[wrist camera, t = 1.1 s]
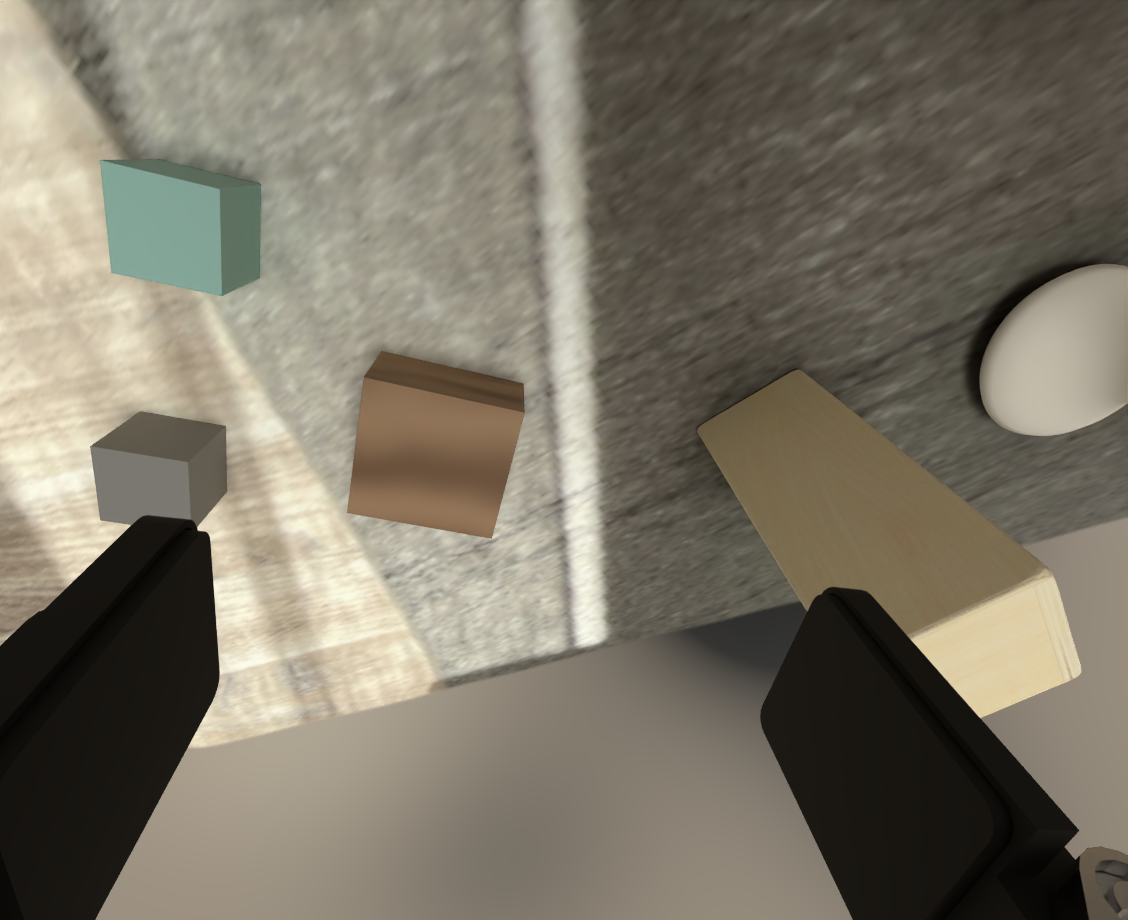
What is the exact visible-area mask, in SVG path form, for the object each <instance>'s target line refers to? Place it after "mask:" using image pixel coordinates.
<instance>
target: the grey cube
mask: <svg viewBox="0 0 1128 920" xmlns="http://www.w3.org/2000/svg"><path fill="white" fill-rule="evenodd" d="M90 448H91V455H92V462H93V470H94V477H95V484H96V491H97V499H98V506H99V513H100V520H102V521H109V522H116V523H123V524H130V525H132V524H133V523H134V522H135V521H136V520H138V519H139V518H140V517H142V516H145V515H152V516H162V517H171V518H181V519H191V520H192V521H194V522H195V524H196V526H198V525H199V524H200V523H201V522H202V521H203V519H204V518H205V517H206V516H207V515H208V513H209V512H210V511H211V510H212V509H213V508H214V506H215V505H216V504H217V503H218V502H219V501H220V499H221V498H222V497H223V496H224V495H225V493H226V492H227V467H226V426H221V425H215V424H210V423H204V422H198V421H193V420H187V419H181V418H175V417H170V416H164V415H158V414H153V413H147V412H139V413H138V414H136V415H135V416H133V417H132V418H130V419H129V420H128V421H126V422H125V423H123V424H122V425H120V426H119V427H117V428H116V429H115V430H113V431H112V432H110V433H109V434H107V435H106V436H105V437H103V438H102V439H100V440H99V441H97V442H96V443H94V444H93V445H92V446H90Z"/></svg>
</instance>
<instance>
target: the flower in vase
mask: <svg viewBox="0 0 1128 920" xmlns="http://www.w3.org/2000/svg"><path fill="white" fill-rule="evenodd" d="M979 383H980V393H981V398H982V402H983V405H984V407H985V409H986V411H987V413H988V414H989V416H990V417H991V418H992V419H993V420H994V421H995V422H996V423H997V424H998V425H1000V426H1001V427H1003V428H1004V429H1007V430H1009V431H1011V432H1015V433H1019V434H1026V435H1036V436H1051V435H1058V434H1063V433H1067V432H1071V431H1074V430H1076V429H1079V428H1082V427H1085V426H1087V425H1090V424H1093V423H1095V422H1097V421H1099V420H1101V419H1103V418H1105V417H1107V416H1109V415H1110V414H1112V413H1114V412H1115V411H1117V410H1118V409H1120V408H1121V407H1123V406H1124V405H1126V404H1128V267H1127V266H1124V265H1117V264H1098V265H1091V266H1087V267H1083V268H1079V269H1076V270H1073V271H1071V272H1068V273H1066V274H1063V275H1061V276H1059V277H1057V278H1055V279H1053V280H1051V281H1049V282H1047V283H1045V284H1044V285H1042V286H1041V287H1039V288H1038V289H1036V290H1035V291H1033V292H1032V293H1031V294H1029V295H1028V296H1027V297H1025V298H1024V299H1023V300H1022V301H1021V302H1020V303H1019V304H1018V305H1016V306H1015V307H1014V308H1013V309H1012V311H1011V312H1010V313H1009V314H1008V315H1007V316H1006V317H1005V319H1004V320H1003V321H1002V323H1001V324H1000V325H999V327H998V328H997V330H996V331H995V333H994V334H993V336H992V338H991V340H990V342H989V344H988V346H987V348H986V350H985V353H984V356H983V359H982V363H981V368H980V377H979Z"/></svg>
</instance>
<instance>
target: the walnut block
mask: <svg viewBox="0 0 1128 920" xmlns="http://www.w3.org/2000/svg"><path fill="white" fill-rule="evenodd" d="M523 417H524V385H523V384H522V383H517V382H513V381H509V380H504V379H500V378H496V377H491V376H487V375H483V374H478V373H474V372H470V371H465V370H461V369H457V368H452V367H448V366H444V365H439V364H435V363H431V362H426V361H422V360H417V359H413V358H409V357H404V356H400V355H396V354H391V353H387V352H383V351H381V353H380V354H379V356H378V357H377V359H376V360H375V362H374V363H373V365H372V366H371V368H370V369H369V371H368V372H367V373H366V375H365V376H364V381H363V389H362V397H361V405H360V413H359V421H358V429H357V437H356V445H355V454H354V462H353V470H352V478H351V486H350V494H349V502H348V510H347V513H351V514H356V515H362V516H367V517H373V518H379V519H384V520H390V521H396V522H401V523H407V524H412V525H418V526H424V527H429V528H435V529H441V530H446V531H452V532H457V533H463V534H469V535H474V536H480V537H486V538H491V539H492V536H493V532H494V528H495V524H496V520H497V516H498V513H499V509H500V505H501V501H502V497H503V493H504V490H505V486H506V482H507V478H508V474H509V470H510V466H511V463H512V459H513V455H514V451H515V447H516V443H517V440H518V436H519V432H520V428H521V424H522V420H523Z"/></svg>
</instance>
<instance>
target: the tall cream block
mask: <svg viewBox="0 0 1128 920" xmlns="http://www.w3.org/2000/svg"><path fill="white" fill-rule="evenodd" d="M697 432H698V434H699V436H700V437H701V439H702V441H703V442H704V444H705V446H706V447H707V449H708V450H709V452H710V454H711V455H712V457H713V459H714V460H715V462H716V463H717V465H718V467H719V468H720V470H721V472H722V473H723V475H724V477H725V478H726V480H727V482H728V483H729V485H730V487H731V488H732V490H733V492H734V493H735V495H736V496H737V498H738V500H739V501H740V503H741V505H742V506H743V508H744V510H745V511H746V513H747V515H748V516H749V518H750V519H751V521H752V523H753V524H754V526H755V528H756V529H757V531H758V533H759V534H760V536H761V537H762V539H763V541H764V542H765V544H766V546H767V547H768V549H769V550H770V552H771V554H772V555H773V557H774V558H775V560H776V562H777V563H778V565H779V567H780V568H781V570H782V571H783V573H784V575H785V576H786V578H787V580H788V581H789V583H790V584H791V586H792V588H793V589H794V591H795V592H796V594H797V596H798V597H799V599H800V601H801V602H802V604H803V605H804V607H805V608H806V610H807V611H808V609H809V607H810V605H811V603H812V601H813V600H814V598H815V597H816V596H817V595H821V594H822V593H823V591H824V590H826V589H827V588H829V587H841V588H851V589H860V590H864V591H867V592H868V593H869V594H871V595H872V596H873V597H874V598H875V600H876V601H877V602H878V603H879V604H880V605H881V606H882V608H883V609H884V610H885V611H886V612H887V613H888V614H889V615H890V617H891V618H892V619H893V620H894V621H895V622H896V623H897V625H898V626H899V627H900V628H901V629H902V630H903V631H904V632H905V634H906V635H907V636H908V637H909V638H910V639H911V640H912V642H913V643H914V644H915V645H916V646H917V647H918V648H919V649H920V651H921V652H922V653H923V654H924V655H925V656H926V657H927V659H928V660H929V661H930V662H931V663H932V664H933V665H934V666H935V668H936V669H937V670H938V671H939V672H940V673H941V674H942V676H943V677H944V678H945V679H946V680H947V681H948V682H949V683H950V685H951V686H952V687H953V688H954V689H955V690H956V691H957V692H958V694H959V695H960V696H961V697H962V698H963V699H964V700H965V702H966V703H967V704H968V705H969V706H970V707H971V708H972V709H973V711H974V712H975V713H976V714H977V715H978V716H979V717H980V718H981V717H984V716H986V715H988V714H991V713H993V712H996V711H998V710H1000V709H1003V708H1005V707H1008V706H1010V705H1012V704H1015V703H1017V702H1019V701H1022V700H1024V699H1026V698H1029V697H1031V696H1034V695H1036V694H1038V693H1041V692H1043V691H1046V690H1048V689H1050V688H1053V687H1055V686H1058V685H1060V684H1063V683H1065V682H1067V681H1069V680H1071V679H1073V678H1076V677H1077V676H1078V675H1079V674H1080V673H1081V666H1080V662H1079V658H1078V655H1077V651H1076V648H1075V645H1074V641H1073V638H1072V635H1071V631H1070V628H1069V624H1068V620H1067V617H1066V614H1065V610H1064V607H1063V603H1062V600H1061V596H1060V593H1059V590H1058V587H1057V584H1056V581H1055V579H1054V576H1053V574H1052V573H1051V571H1050V570H1049V569H1048V567H1047V566H1045V565H1044V564H1043V563H1042V562H1041V561H1039V560H1038V559H1037V558H1036V557H1035V556H1033V555H1032V554H1031V553H1030V552H1028V551H1027V550H1026V549H1024V548H1023V547H1022V546H1021V545H1020V544H1018V543H1017V542H1016V541H1015V540H1013V539H1012V538H1011V537H1010V536H1008V535H1007V534H1006V533H1005V532H1003V531H1002V530H1001V529H1000V528H998V527H997V526H996V525H995V524H993V523H992V522H991V521H990V520H988V519H987V518H986V517H984V516H983V515H982V514H981V513H980V512H978V511H977V510H976V509H975V508H973V507H972V506H971V505H970V504H969V503H967V502H966V501H965V500H963V499H962V498H961V497H960V496H958V495H957V494H956V493H955V492H953V491H952V490H951V489H950V488H948V487H947V486H946V485H945V484H943V483H942V482H941V481H939V480H938V479H937V478H936V477H934V476H933V475H932V474H930V473H929V472H928V471H927V470H925V469H924V468H923V467H922V466H920V465H919V464H918V463H917V462H915V461H914V460H913V459H912V458H911V457H909V456H908V455H907V454H906V453H904V452H903V451H902V450H900V449H899V448H898V447H897V446H895V445H894V444H893V443H892V442H890V441H889V440H888V439H887V438H886V437H884V436H883V435H882V434H880V433H879V432H878V431H877V430H875V429H874V428H873V427H872V426H870V425H869V424H868V423H867V422H865V421H864V420H863V419H862V418H860V417H859V416H858V415H857V414H855V413H854V412H853V411H852V410H850V409H849V408H848V407H847V406H845V405H844V404H843V403H842V402H840V401H839V400H838V399H837V398H835V397H834V396H833V395H832V394H830V393H829V392H828V391H827V390H825V389H824V388H823V387H822V386H820V385H819V384H818V383H817V382H815V381H814V380H813V379H812V378H810V377H809V376H808V375H806V374H805V373H804V372H803V371H801V370H798V369H797V370H794V371H792V372H790V373H788V374H787V375H785V376H783V377H781V378H780V379H778V380H776V381H775V382H773V383H771V384H769V385H768V386H766V387H764V388H763V389H761V390H759V391H758V392H756V393H754V394H753V395H751V396H749V397H747V398H746V399H744V400H742V401H741V402H739V403H737V404H736V405H734V406H732V407H731V408H729V409H727V410H725V411H724V412H722V413H720V414H718V415H717V416H715V417H713V418H712V419H710V420H708V421H707V422H705V423H703V424H702V425H701V426H699V427H698V429H697Z"/></svg>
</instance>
